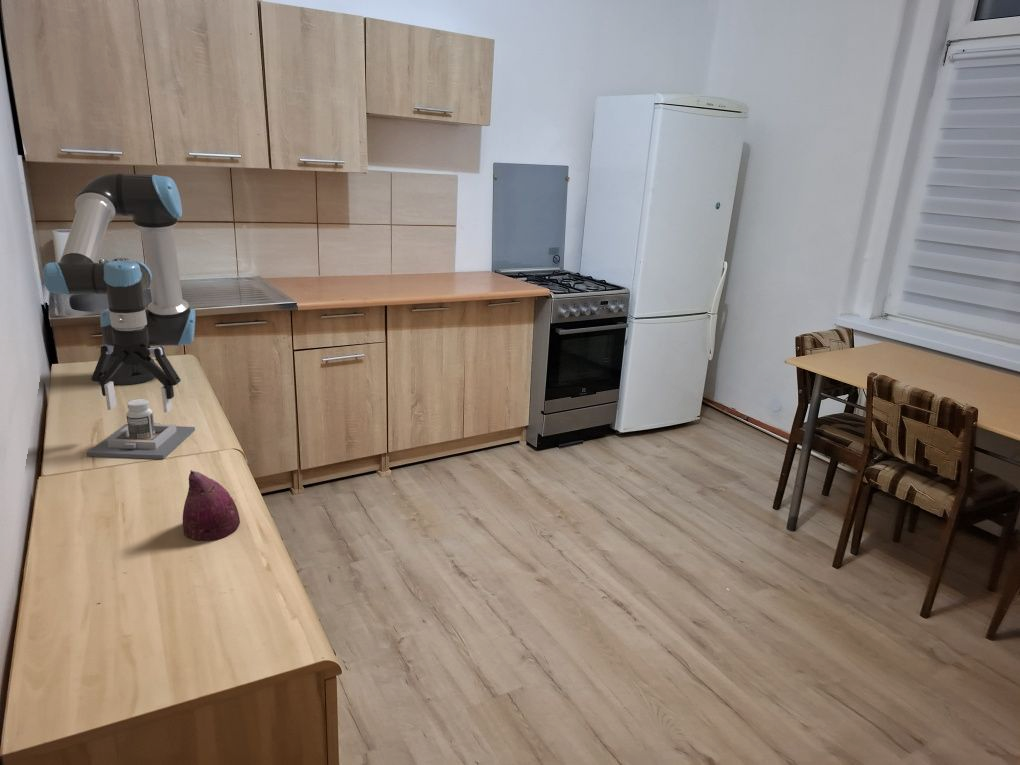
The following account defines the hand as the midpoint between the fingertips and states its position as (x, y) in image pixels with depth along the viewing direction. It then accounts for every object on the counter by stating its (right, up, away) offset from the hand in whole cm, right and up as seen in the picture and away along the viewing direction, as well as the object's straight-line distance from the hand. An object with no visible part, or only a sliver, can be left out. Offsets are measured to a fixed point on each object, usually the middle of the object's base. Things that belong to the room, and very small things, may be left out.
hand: (140, 409), depth 165 cm
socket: (0, -9, +2) cm, 9 cm away
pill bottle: (-1, -8, +2) cm, 8 cm away
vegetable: (+33, -23, -33) cm, 52 cm away
